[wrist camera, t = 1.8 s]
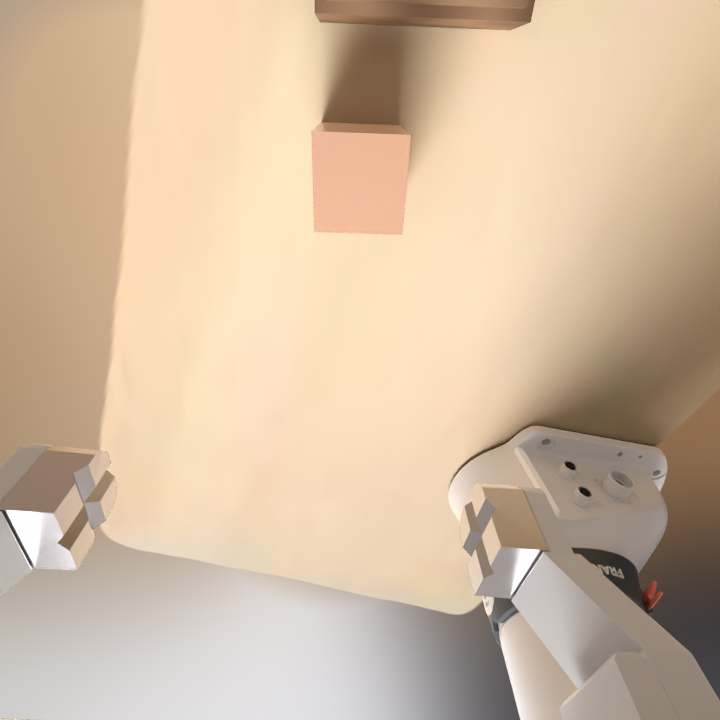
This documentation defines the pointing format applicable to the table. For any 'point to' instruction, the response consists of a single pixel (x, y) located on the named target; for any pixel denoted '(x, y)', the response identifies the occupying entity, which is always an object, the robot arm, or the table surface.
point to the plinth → (428, 13)
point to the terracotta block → (359, 177)
